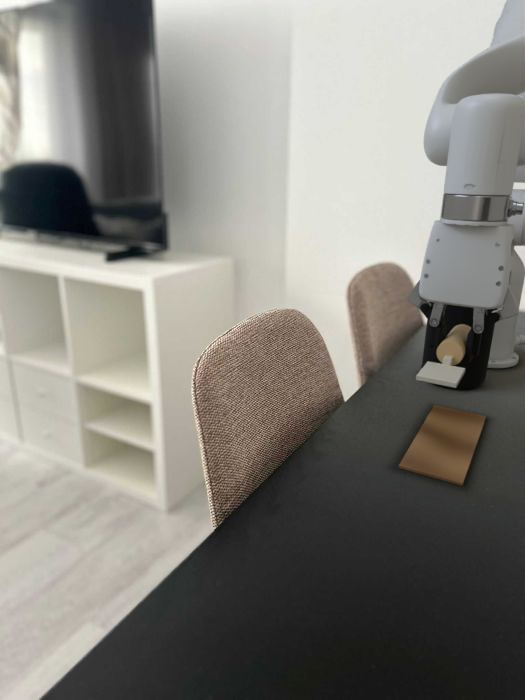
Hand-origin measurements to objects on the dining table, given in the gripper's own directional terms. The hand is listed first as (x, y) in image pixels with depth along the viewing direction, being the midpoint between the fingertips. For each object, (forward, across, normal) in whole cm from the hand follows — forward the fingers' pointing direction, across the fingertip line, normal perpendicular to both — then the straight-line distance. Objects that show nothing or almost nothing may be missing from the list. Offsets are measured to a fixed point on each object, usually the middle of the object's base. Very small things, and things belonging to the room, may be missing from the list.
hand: (453, 355), depth 67 cm
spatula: (0, 0, +2) cm, 2 cm away
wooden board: (+12, -1, +1) cm, 12 cm away
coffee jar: (+12, +3, -22) cm, 25 cm away
